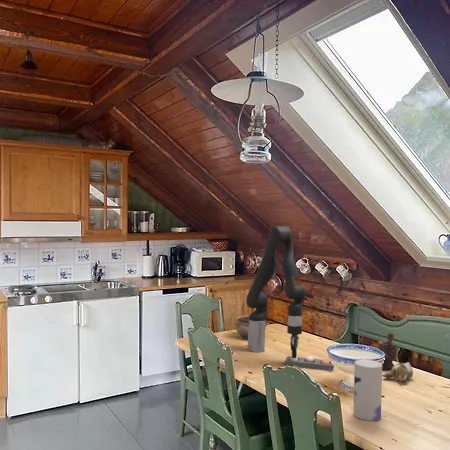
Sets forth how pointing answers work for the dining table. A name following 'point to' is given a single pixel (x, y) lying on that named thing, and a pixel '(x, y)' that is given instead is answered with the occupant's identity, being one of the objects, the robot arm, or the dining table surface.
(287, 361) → the control strip
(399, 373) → the ceramic sculpture
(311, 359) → the cream button
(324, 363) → the terracotta button
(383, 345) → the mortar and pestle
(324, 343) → the dining table surface
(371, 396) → the container
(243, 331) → the cooking pot
